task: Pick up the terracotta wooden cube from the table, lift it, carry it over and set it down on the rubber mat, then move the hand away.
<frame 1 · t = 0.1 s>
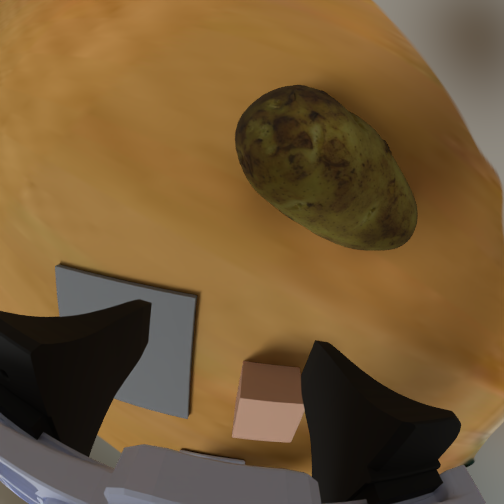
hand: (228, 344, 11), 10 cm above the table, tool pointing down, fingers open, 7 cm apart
cube: (266, 384, 23), on the table
mat: (120, 347, 23), on the table
potato: (322, 184, 20), on the table
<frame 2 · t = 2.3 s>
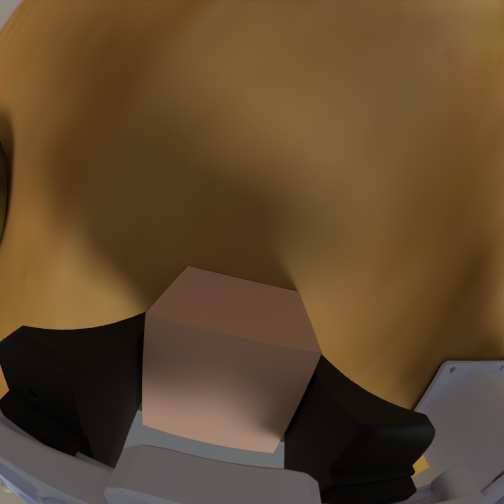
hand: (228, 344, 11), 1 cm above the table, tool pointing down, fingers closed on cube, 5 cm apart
cube: (231, 328, 13), on the table, touching gripper
mat: (184, 470, 15), on the table
pacifier: (14, 474, 24), on the table
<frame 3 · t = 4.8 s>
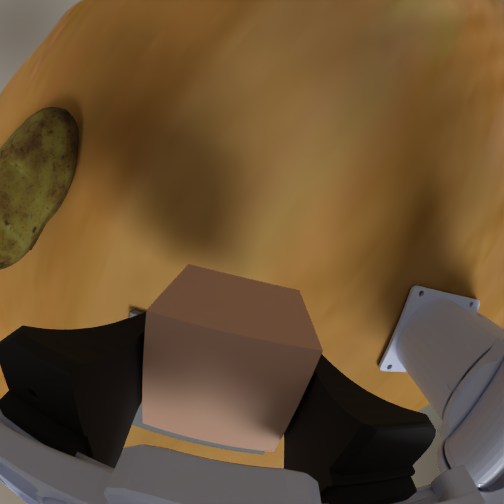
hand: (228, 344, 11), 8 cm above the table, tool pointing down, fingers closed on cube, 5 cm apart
cube: (231, 327, 13), point 7 cm above the table, touching gripper
mat: (205, 396, 22), on the table
potato: (49, 188, 18), on the table
when the fingers open (3 cm above the table, at t = 7.5 s): cube drops 1 cm, resting on mat.
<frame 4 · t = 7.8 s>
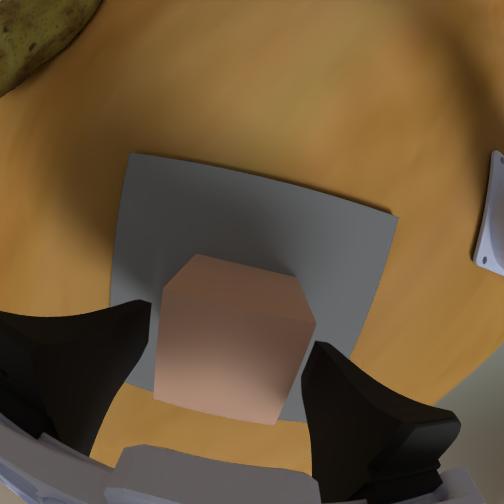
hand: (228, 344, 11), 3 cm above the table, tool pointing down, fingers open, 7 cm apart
cube: (235, 311, 14), point 1 cm above the table, touching mat
mat: (234, 311, 14), on the table
potato: (58, 41, 11), on the table
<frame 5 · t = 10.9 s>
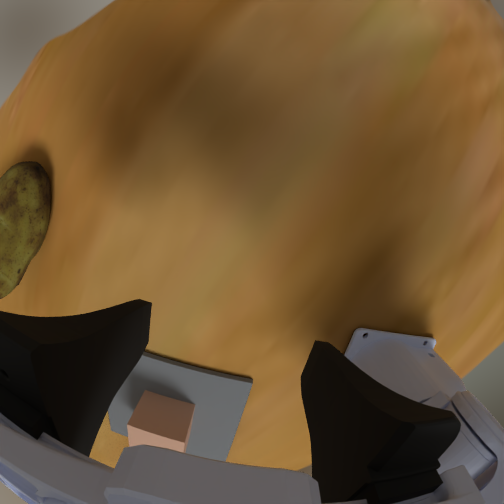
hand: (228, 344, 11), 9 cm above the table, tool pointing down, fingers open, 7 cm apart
cube: (168, 413, 23), point 1 cm above the table, touching mat
mat: (169, 411, 24), on the table
potato: (31, 228, 20), on the table
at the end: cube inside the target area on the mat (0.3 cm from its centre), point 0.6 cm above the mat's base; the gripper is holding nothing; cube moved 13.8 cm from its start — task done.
